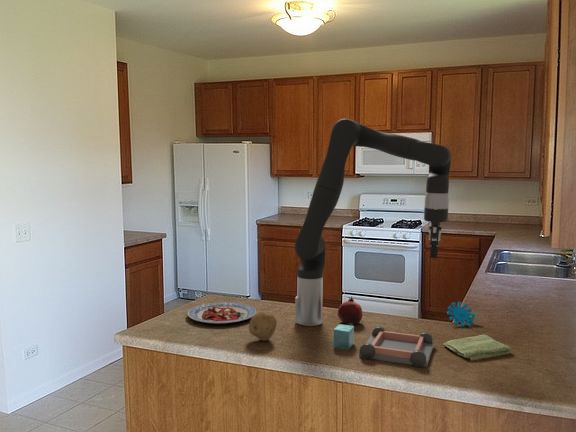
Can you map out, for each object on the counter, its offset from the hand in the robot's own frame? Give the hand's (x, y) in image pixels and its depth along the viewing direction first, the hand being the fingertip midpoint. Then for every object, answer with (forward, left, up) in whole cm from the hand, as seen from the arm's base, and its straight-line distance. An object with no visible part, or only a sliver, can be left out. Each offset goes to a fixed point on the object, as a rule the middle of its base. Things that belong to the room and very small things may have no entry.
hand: (433, 255), depth 171 cm
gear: (+9, +21, -29) cm, 36 cm away
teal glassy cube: (-25, -17, -28) cm, 42 cm away
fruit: (-29, +6, -29) cm, 41 cm away
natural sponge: (-51, -23, -29) cm, 63 cm away
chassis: (-8, -16, -28) cm, 34 cm away
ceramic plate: (-76, -5, -29) cm, 82 cm away
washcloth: (+15, -5, -29) cm, 33 cm away
